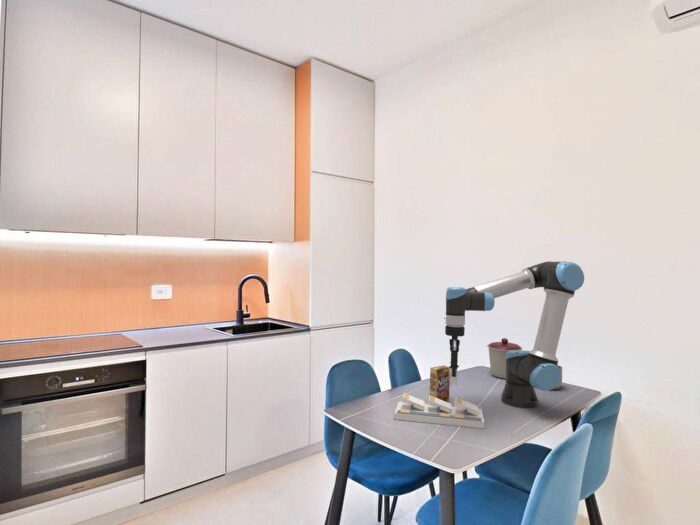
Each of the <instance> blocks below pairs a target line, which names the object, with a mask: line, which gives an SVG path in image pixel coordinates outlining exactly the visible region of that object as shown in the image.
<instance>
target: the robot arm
mask: <svg viewBox="0 0 700 525" xmlns="http://www.w3.org/2000/svg"><path fill="white" fill-rule="evenodd" d="M584 282H585V274H584V271H583V269H582V268H581V266H580V265H579V264H577V263H575V262H572V261H565V260H563V261H544V262H540V263H537V264H534V265H531V266H529V267H525V268H523V269H522V270H521V271H519V272H518V273H514V274H511V275H507V276H504V277H502V278H498V279H495V280H492V281H488V282H485V283H481V284H479V285H476V286H473V287H469V288H465V287H462V286H449V287H447V288H446V293H445V316H444V317H443V319H444V320H445V329H444V331H445V332H444V333H445V335H446V336H449V337H451V338H450V339H449V351H450V362H449V363H450V365H449V366H448V367H449V368H450V385H453V386H454V385H455V386H457V385H458V368H460V365H458V360H459V358H458V356H459V351H460V344H461V343H460V342H461V341H460V339H459V337H460V338H461V337H464V336H465V330H466V328H465V325H466V312H469V311H472V312H473V311H475V312H487V311H489V312H490V311H492V310H493V309H494V307H495V299H497V298H500V297H503V296H506V295H509V294H513V293H516V292H519V291H523V290H525V289H527V290H533V289H538V288H543V291H544V292H545V299H544V304H543V307H542V312H541V315H540V320H539V324H538V328H537V333H536V336H535V340H534V345H533V349H531V350H523V349H522V350H513V351H508V352H507V353H506V379H505V384H504V386H503V390H502V392H501V396H500V397H501V402H503V403H504V404H507V405H509V406H511V407H516V408H517V407H518V408H535V407H537V406H538V405H539V400H538V399H539V398H538V396H537V395H538V394H537V393H536V390H537V389H538V390H540V391H544V392H549V391H552V389H553V388H555V387H556V386H557V385H558V384H559V382H560V380H561V372H560V369H559V368H558V367H557V365H559V359H558V357H557V356H556V353H557V351H558V346H559V342H560V338H561V337H560V336H561V334H562V329H563V325H564V321H565V316H566V314H567V308H568V303H569V300H570V299H572V298H573V297H575V292H576V291H577V290H579V289H580V288H581V287H583V284H584Z"/></svg>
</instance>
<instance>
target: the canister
mask: <svg viewBox="0 0 700 525" xmlns="http://www.w3.org/2000/svg"><path fill="white" fill-rule="evenodd" d="M486 346H487V348H488V356H489V365H490V372H491V374H492V375H493V376H494V377H496V378H499V379H503V380H504V379H505V380H506V353H507V352H508V351H513V350H523V347H522V346H520V345H519V344H517V343H513V342H509V339H508V338H505V337H504V338H502V339H501V340H500V341H495V342H490V343H489V344H487V345H486Z"/></svg>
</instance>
